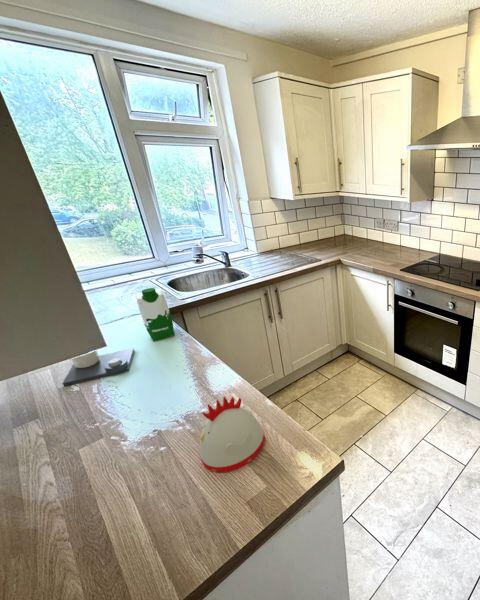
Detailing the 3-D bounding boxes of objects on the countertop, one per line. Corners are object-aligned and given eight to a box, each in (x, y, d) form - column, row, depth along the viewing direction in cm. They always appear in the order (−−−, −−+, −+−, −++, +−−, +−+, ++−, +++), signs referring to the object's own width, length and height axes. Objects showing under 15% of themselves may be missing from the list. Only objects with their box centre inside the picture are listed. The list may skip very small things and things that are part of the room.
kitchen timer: (193, 447, 80) (177, 399, 74) (250, 418, 89) (239, 372, 83) (214, 484, 71) (197, 432, 65) (274, 447, 80) (264, 398, 74)
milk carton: (150, 343, 124) (133, 294, 116) (148, 334, 130) (132, 287, 122) (177, 336, 129) (163, 289, 121) (174, 327, 136) (160, 282, 128)
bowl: (72, 371, 106) (66, 359, 104) (78, 361, 111) (72, 349, 109) (97, 365, 109) (92, 353, 107) (102, 356, 114) (97, 344, 112)
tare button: (109, 367, 105) (107, 363, 105) (111, 363, 108) (109, 359, 107) (120, 365, 107) (118, 361, 106) (122, 361, 109) (120, 357, 108)
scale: (63, 388, 100) (59, 380, 99) (76, 364, 112) (73, 356, 110) (128, 372, 107) (125, 365, 106) (134, 351, 119) (132, 344, 118)
